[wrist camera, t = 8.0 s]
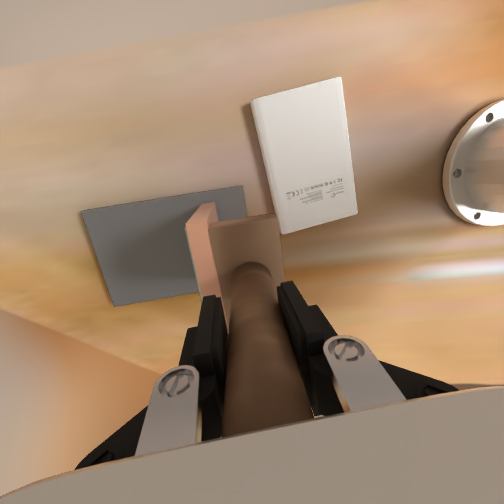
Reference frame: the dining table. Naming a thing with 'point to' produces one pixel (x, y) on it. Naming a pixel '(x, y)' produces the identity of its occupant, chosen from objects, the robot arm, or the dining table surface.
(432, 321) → the dining table surface
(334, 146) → the external hard drive
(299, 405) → the tool
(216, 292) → the tile
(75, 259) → the dining table surface
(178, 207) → the mat
